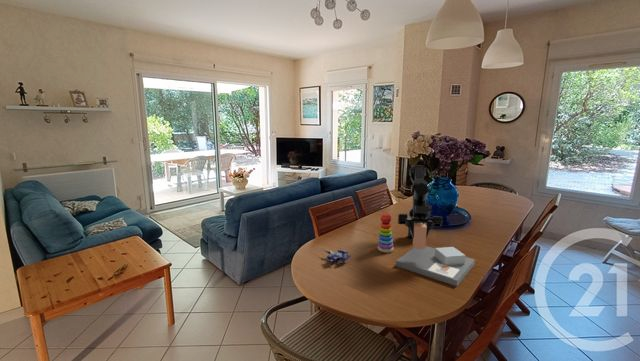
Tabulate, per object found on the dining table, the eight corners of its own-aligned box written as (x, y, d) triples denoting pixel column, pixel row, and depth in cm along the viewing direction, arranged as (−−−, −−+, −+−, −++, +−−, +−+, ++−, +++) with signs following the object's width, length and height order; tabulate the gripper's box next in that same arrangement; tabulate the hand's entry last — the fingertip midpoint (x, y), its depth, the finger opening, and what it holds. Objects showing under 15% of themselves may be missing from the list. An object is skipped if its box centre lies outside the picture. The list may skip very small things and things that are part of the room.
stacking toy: (394, 247, 153) (395, 212, 150) (392, 254, 146) (394, 217, 142) (378, 245, 156) (379, 211, 152) (376, 252, 149) (377, 215, 145)
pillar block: (412, 243, 136) (414, 220, 134) (424, 244, 135) (425, 221, 133) (413, 248, 132) (414, 224, 129) (425, 249, 130) (426, 225, 128)
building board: (395, 265, 134) (396, 260, 134) (418, 248, 152) (418, 243, 151) (456, 286, 117) (457, 280, 117) (474, 264, 135) (474, 258, 135)
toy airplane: (320, 254, 146) (320, 247, 146) (348, 253, 147) (348, 247, 146) (320, 267, 134) (320, 259, 133) (352, 266, 134) (352, 259, 133)
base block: (434, 256, 138) (435, 248, 137) (452, 254, 139) (453, 246, 138) (445, 265, 129) (446, 256, 128) (464, 263, 131) (465, 255, 130)
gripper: (399, 196, 135) (398, 228, 127) (443, 198, 130) (445, 232, 122) (398, 208, 144) (397, 238, 136) (440, 211, 139) (441, 242, 131)
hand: (419, 237), depth 131 cm, fingers closed on pillar block, 5 cm apart
